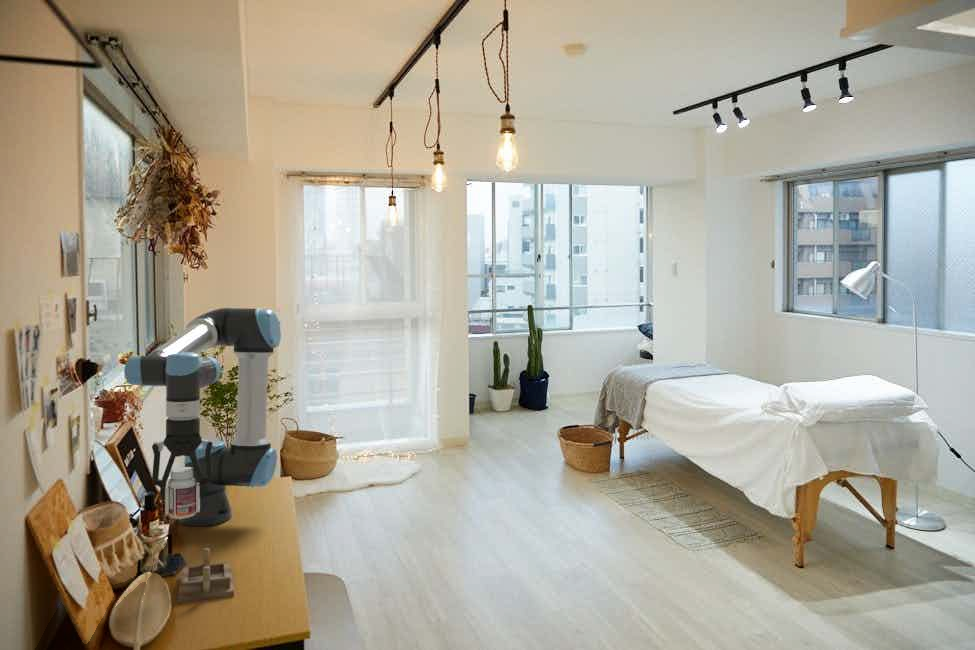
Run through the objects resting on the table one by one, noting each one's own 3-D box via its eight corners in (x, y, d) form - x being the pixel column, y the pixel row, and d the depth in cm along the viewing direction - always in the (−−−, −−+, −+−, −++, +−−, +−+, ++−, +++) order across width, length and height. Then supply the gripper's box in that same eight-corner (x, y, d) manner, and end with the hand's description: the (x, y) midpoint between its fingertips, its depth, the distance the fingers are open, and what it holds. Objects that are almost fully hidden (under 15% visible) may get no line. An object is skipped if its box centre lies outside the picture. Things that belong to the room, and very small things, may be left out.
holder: (180, 578, 180) (180, 550, 179) (231, 572, 184) (231, 545, 184) (178, 603, 167) (178, 572, 166) (233, 596, 171) (233, 566, 170)
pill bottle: (201, 513, 179) (201, 467, 178) (184, 520, 173) (184, 473, 172) (180, 510, 181) (180, 465, 180) (163, 517, 175) (162, 471, 174)
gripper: (137, 421, 169) (137, 519, 170) (225, 418, 175) (224, 513, 176) (141, 416, 176) (141, 510, 177) (225, 413, 182) (224, 504, 184)
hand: (182, 511), depth 177 cm, fingers closed on pill bottle, 6 cm apart
